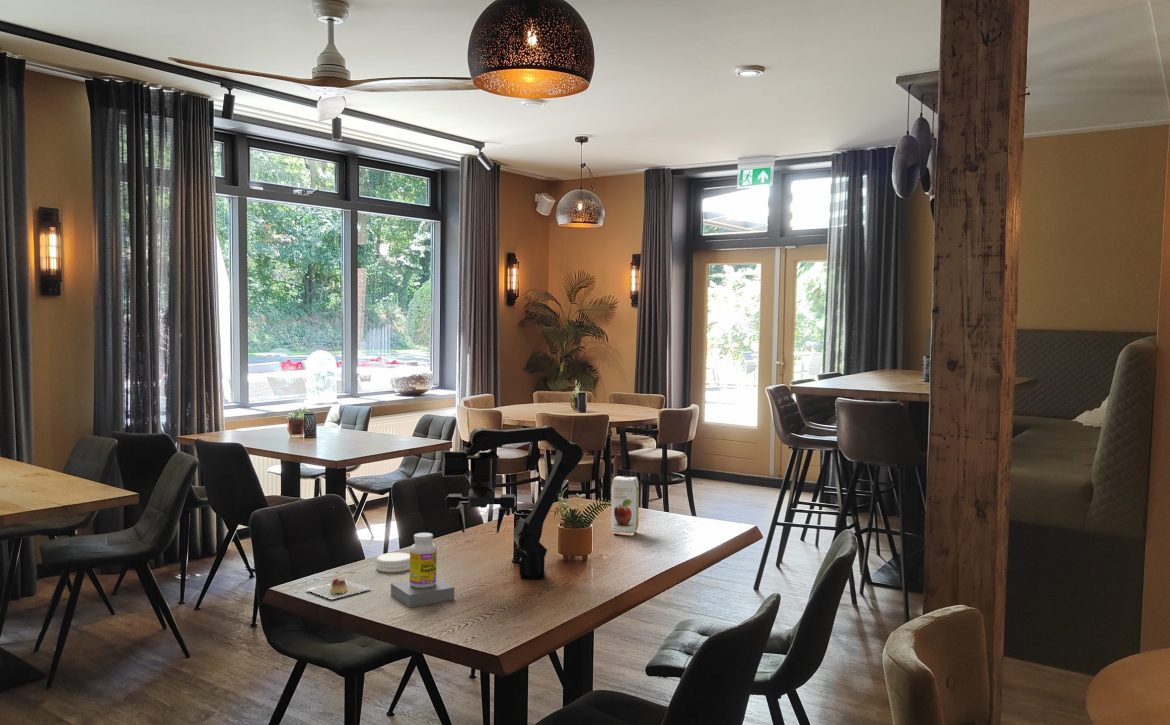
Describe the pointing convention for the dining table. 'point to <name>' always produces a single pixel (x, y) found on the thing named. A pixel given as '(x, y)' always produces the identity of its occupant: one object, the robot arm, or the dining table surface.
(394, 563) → the coaster
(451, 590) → the block
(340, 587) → the dessert
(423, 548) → the supplement bottle
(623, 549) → the dining table surface
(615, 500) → the juice carton
